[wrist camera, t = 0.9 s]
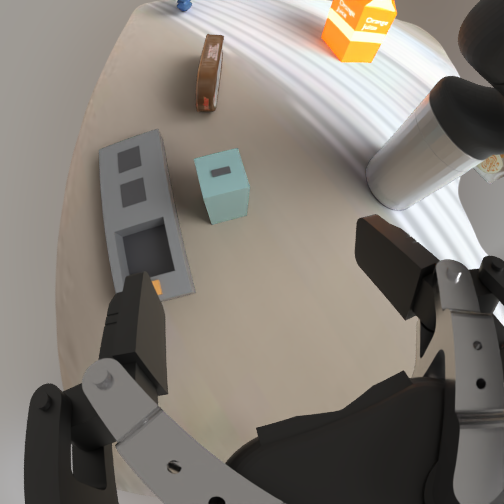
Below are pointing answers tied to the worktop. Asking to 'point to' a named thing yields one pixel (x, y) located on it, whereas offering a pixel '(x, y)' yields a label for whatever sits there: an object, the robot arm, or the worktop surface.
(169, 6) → the worktop surface
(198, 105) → the tin
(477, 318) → the robot arm
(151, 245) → the power strip
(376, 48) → the orange juice
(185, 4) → the grapes
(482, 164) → the coffee box
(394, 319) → the worktop surface
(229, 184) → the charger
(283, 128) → the worktop surface
